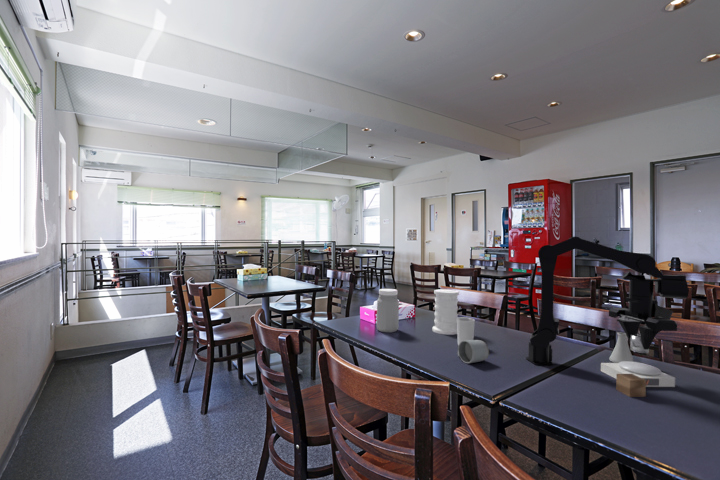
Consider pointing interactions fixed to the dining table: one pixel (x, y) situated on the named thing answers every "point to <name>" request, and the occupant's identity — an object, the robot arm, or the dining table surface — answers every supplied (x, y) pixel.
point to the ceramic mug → (473, 351)
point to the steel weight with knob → (637, 344)
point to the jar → (387, 310)
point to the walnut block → (631, 385)
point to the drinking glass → (465, 329)
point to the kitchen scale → (639, 373)
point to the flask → (621, 350)
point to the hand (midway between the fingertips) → (639, 346)
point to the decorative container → (445, 311)
